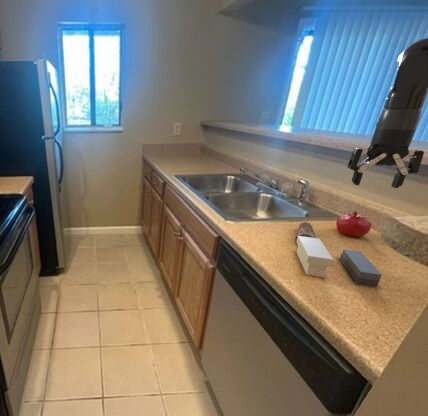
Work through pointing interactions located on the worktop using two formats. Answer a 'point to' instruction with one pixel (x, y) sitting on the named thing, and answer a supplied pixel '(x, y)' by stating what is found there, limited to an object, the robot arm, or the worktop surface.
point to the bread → (305, 231)
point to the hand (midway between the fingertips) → (375, 185)
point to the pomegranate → (353, 225)
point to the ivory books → (311, 266)
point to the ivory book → (314, 251)
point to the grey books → (360, 268)
